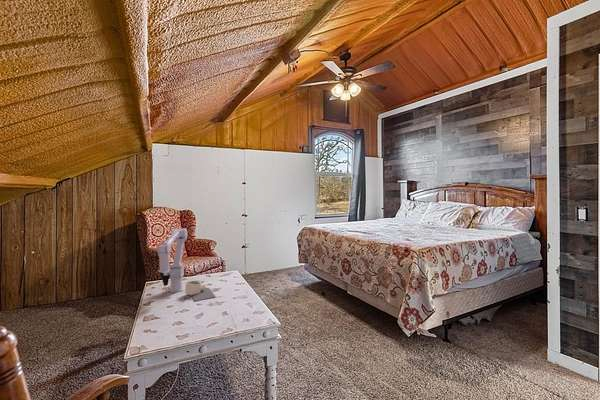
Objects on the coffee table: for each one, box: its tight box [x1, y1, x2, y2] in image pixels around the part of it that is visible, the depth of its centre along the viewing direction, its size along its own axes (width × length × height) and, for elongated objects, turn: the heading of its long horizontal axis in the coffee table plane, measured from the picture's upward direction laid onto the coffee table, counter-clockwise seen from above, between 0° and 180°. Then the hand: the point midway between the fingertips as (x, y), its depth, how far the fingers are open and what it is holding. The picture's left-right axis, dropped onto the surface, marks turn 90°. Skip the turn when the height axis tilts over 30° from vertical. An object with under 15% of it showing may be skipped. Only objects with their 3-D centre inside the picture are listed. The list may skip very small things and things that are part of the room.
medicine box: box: [184, 280, 207, 296], centre depth 191 cm, size 7×7×12 cm
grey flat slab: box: [191, 287, 216, 302], centre depth 188 cm, size 20×13×1 cm, turn 30°
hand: (165, 283), depth 180 cm, fingers open, 7 cm apart
